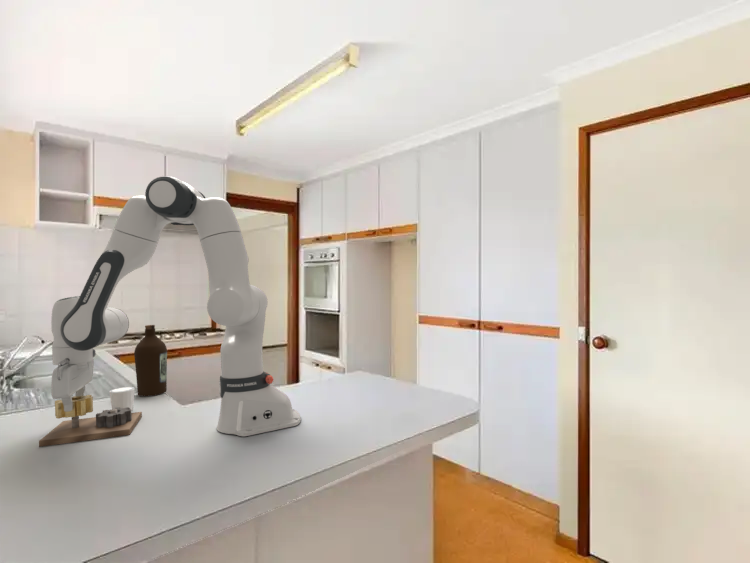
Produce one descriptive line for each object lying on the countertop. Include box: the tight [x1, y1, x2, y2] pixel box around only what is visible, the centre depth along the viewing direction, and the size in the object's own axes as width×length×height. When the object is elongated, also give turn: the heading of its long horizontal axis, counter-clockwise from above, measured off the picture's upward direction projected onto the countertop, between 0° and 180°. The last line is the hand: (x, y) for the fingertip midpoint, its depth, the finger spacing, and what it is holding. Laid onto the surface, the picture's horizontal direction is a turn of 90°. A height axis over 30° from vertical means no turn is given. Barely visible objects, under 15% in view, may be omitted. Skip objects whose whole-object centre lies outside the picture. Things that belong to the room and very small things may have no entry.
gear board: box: [38, 407, 143, 448], centre depth 116 cm, size 20×16×5 cm
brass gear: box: [54, 394, 94, 419], centre depth 114 cm, size 8×7×4 cm
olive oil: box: [133, 324, 168, 397], centre depth 154 cm, size 11×11×25 cm
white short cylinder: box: [108, 386, 135, 412], centre depth 133 cm, size 7×7×7 cm
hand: (74, 406), depth 114 cm, fingers closed on brass gear, 6 cm apart
